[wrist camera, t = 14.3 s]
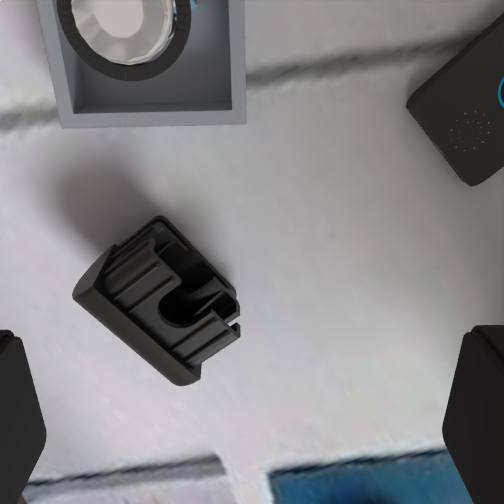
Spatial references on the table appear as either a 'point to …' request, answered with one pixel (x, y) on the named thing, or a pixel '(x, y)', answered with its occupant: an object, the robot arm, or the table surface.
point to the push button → (126, 34)
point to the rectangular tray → (161, 86)
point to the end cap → (162, 300)
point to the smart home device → (467, 107)
